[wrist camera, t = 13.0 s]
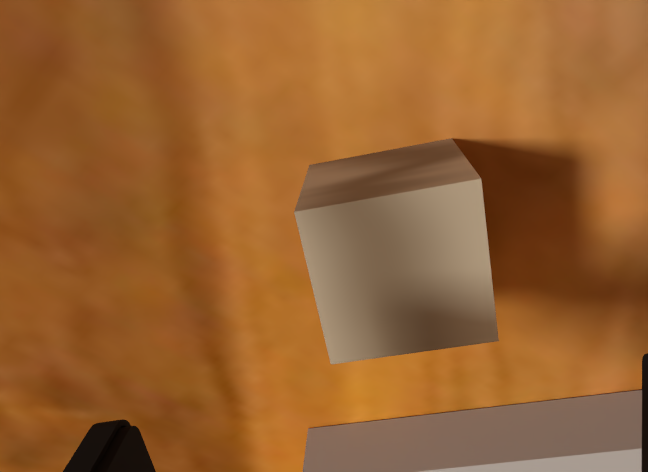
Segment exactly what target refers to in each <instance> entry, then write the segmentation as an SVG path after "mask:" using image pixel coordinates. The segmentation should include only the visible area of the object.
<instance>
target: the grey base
mask: <svg viewBox="0 0 648 472" xmlns="http://www.w3.org/2000/svg"><path fill="white" fill-rule="evenodd" d="M303 472H642V390H636V391H628V392H619V393H611V394H602V395H593V396H585V397H576V398H568V399H559V400H550V401H542V402H533V403H524V404H516V405H507V406H499V407H490V408H481V409H473V410H464V411H456V412H447V413H438V414H430V415H421V416H413V417H404V418H395V419H387V420H378V421H370V422H361V423H352V424H344V425H335V426H327V427H318V428H309V429H308V434H307V442H306V450H305V458H304V465H303Z"/></svg>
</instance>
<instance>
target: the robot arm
mask: <svg viewBox="0 0 648 472" xmlns="http://www.w3.org/2000/svg"><path fill="white" fill-rule="evenodd" d="M63 472H156V471H155V469H154V466H153V464H152V461H151V459H150V456H149V454H148V451H147V449H146V446H145V443H144V441H143V438H142V436H141V433H140V431H139V429H138V428H137V427H136V426H131V425H130V423H129V422H128V421H126V420H116V421H109V422H102V423H97V424H94V425H93V426H92V427H91V428H90V430H89V431H88V433H87V434H86V436H85V437H84V439H83V441H82V442H81V444H80V445H79V447H78V449H77V450H76V452H75V453H74V455H73V456H72V458H71V460H70V461H69V463H68V464H67V466H66V468H65V469H64V471H63ZM642 472H648V354H645V355H644V356H643V360H642Z"/></svg>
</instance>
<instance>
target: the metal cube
mask: <svg viewBox="0 0 648 472" xmlns="http://www.w3.org/2000/svg"><path fill="white" fill-rule="evenodd" d="M294 213H295V217H296V221H297V225H298V230H299V234H300V238H301V242H302V246H303V250H304V254H305V259H306V263H307V267H308V271H309V275H310V279H311V283H312V288H313V292H314V296H315V300H316V304H317V308H318V313H319V317H320V321H321V325H322V329H323V333H324V337H325V342H326V346H327V350H328V354H329V358H330V362H331V364H337V363H344V362H351V361H359V360H366V359H373V358H380V357H387V356H395V355H402V354H409V353H416V352H423V351H430V350H438V349H445V348H452V347H459V346H466V345H474V344H481V343H488V342H495V341H499V340H498V331H497V321H496V312H495V303H494V293H493V284H492V275H491V265H490V256H489V246H488V237H487V228H486V218H485V209H484V200H483V190H482V181H481V178H480V176H479V175H478V173H477V172H476V171H475V169H474V168H473V167H472V165H471V164H470V163H469V161H468V160H467V158H466V157H465V156H464V154H463V153H462V152H461V150H460V149H459V147H458V146H457V145H456V143H455V142H454V141H453V139H452V138H451V139H446V140H440V141H435V142H430V143H424V144H419V145H414V146H408V147H403V148H398V149H393V150H387V151H382V152H377V153H371V154H366V155H361V156H355V157H350V158H345V159H339V160H334V161H329V162H324V163H318V164H313V165H309V168H308V171H307V174H306V178H305V181H304V184H303V187H302V190H301V193H300V196H299V199H298V202H297V205H296V208H295V211H294Z"/></svg>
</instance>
